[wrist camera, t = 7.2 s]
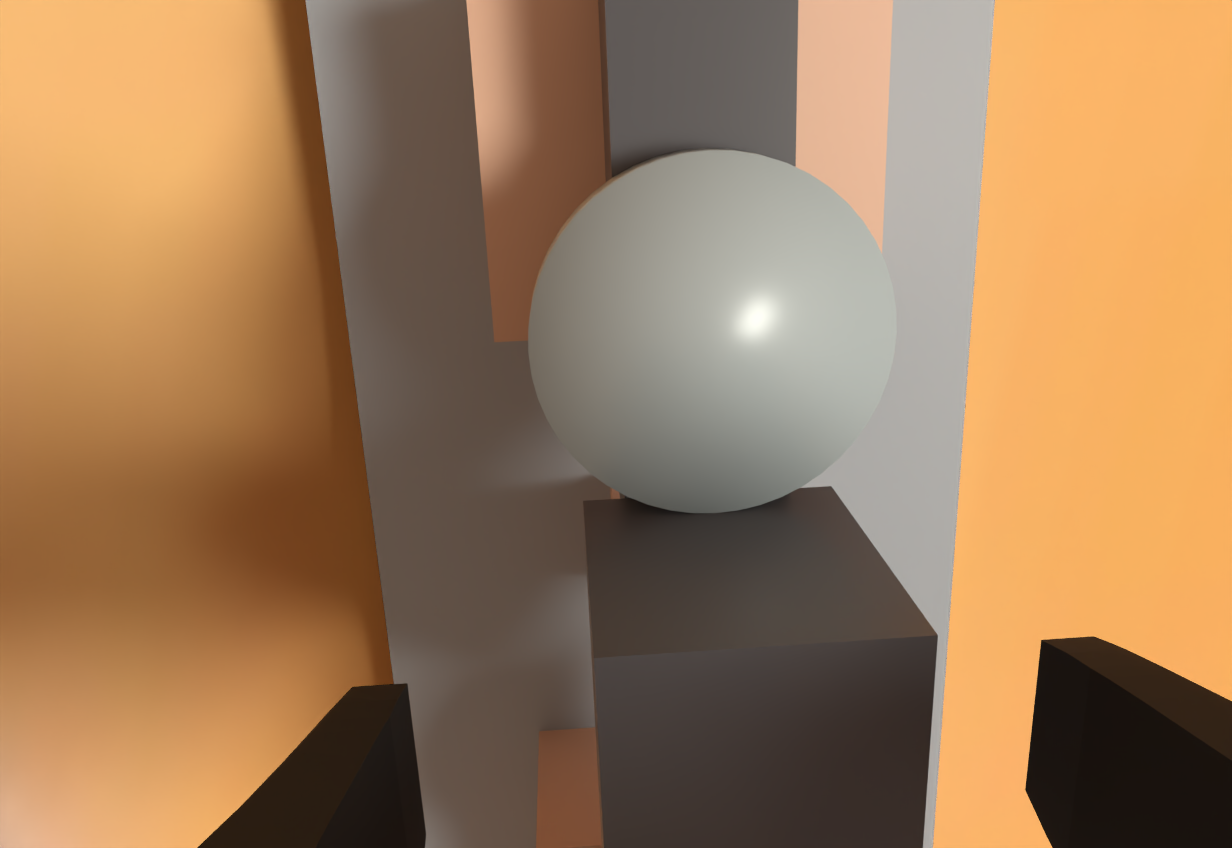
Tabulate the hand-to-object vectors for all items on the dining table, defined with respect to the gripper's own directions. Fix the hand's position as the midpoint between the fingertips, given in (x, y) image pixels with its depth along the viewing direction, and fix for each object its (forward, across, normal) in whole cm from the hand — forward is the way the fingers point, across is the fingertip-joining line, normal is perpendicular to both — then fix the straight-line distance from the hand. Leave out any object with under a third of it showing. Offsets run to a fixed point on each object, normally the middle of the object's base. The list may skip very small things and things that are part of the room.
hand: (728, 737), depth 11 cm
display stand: (+7, 0, 0) cm, 7 cm away
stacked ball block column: (+3, 0, 0) cm, 3 cm away
